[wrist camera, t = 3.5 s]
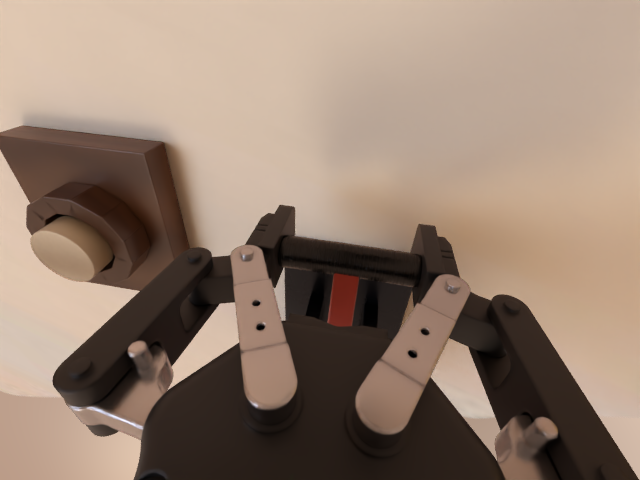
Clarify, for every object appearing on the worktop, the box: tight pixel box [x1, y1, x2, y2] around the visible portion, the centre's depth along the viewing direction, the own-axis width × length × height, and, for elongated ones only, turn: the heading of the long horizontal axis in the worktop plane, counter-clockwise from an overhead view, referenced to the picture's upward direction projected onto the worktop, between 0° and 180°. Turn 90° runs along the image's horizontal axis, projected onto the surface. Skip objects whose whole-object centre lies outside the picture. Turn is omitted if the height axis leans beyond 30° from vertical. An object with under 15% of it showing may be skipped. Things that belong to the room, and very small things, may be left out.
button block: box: [0, 126, 189, 291], centre depth 22 cm, size 12×10×4 cm
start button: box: [30, 216, 114, 282], centre depth 20 cm, size 4×4×2 cm
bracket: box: [285, 267, 412, 340], centre depth 20 cm, size 12×9×13 cm
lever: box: [278, 235, 422, 327], centre depth 15 cm, size 14×6×2 cm, turn 176°
